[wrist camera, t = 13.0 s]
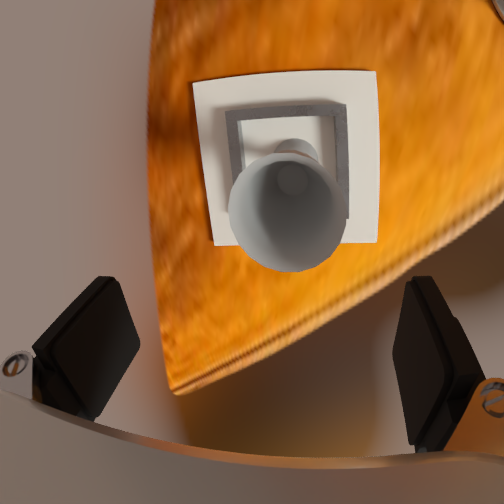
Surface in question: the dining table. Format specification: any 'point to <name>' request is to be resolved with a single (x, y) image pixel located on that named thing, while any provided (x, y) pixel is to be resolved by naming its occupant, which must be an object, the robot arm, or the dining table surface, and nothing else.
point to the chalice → (287, 209)
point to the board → (280, 129)
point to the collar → (292, 111)
